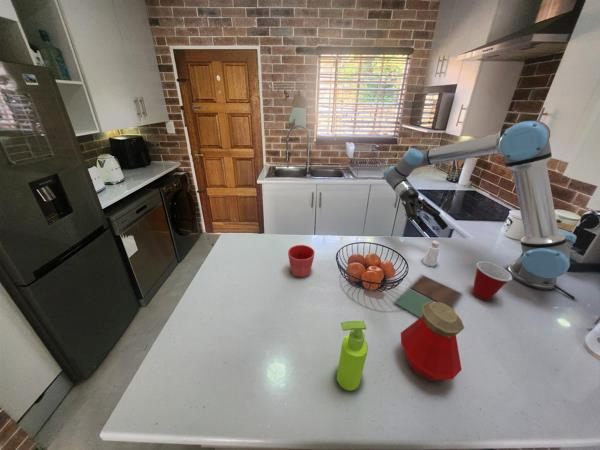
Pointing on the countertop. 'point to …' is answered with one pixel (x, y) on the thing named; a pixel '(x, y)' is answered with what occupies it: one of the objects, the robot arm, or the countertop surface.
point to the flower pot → (301, 260)
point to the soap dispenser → (352, 355)
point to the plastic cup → (489, 280)
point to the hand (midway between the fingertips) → (436, 228)
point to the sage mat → (413, 303)
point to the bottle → (433, 343)
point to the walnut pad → (435, 291)
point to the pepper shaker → (432, 254)
